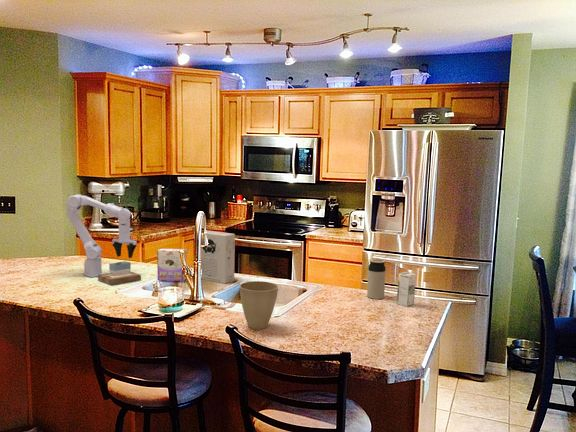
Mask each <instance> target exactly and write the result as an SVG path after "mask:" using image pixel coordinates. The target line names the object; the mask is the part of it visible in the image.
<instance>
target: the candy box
mask: <svg viewBox="0 0 576 432" xmlns="http://www.w3.org/2000/svg"><path fill="white" fill-rule="evenodd" d="M180 251H184V253H185V260H186V261H187V249H186V248H183V249H181V248H160V249H157V251H156V253H157V254H156V255H157V257H156V258H157V260H156V261H157V265H156V266H157V280H159V281H158V282H168V283H169V282H171V283H172V282H173V283H175V282H176V283H184V282H185V281H186V280H185V278H184V276H183V273H182V264H181V259H180V254H179V252H180Z"/></svg>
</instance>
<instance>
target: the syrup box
mask: <svg viewBox="0 0 576 432" xmlns="http://www.w3.org/2000/svg"><path fill="white" fill-rule="evenodd" d="M416 278H417V274H416V273H414V272H410V271H403V272H400V273H398V278H397V280H398V281H397V294H396V295H397V296H396V304H397V305H400V306H402V307H403V306H404V307H410V306H413V305H414V304H415V295H416V282H417V280H416Z"/></svg>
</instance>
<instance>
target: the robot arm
mask: <svg viewBox="0 0 576 432" xmlns="http://www.w3.org/2000/svg"><path fill="white" fill-rule="evenodd" d="M65 204H66V217H67V218H68V219H69V222H70V223H71V225H72V227H73V228H74V230H75V232H76V233H77V235H78V237H79V239H80V240H81V242H82V244H83V249H84V251H85V257H86V259H85V260H84V262H83V273H82V275H83V276H85V277H89V278H96V277H98V275H100V274H104V273H102V269H103V268H102V266H103V265H102V256H101V255H102V253H103V248H102V246H100V245H99V244H98V243H97V242H96V241H95V240H94V238H92V235H91V234H90V231H89V230H88V228H87V227H86V225H85V223H84V222H83V220H82V218H81V217H80V215H79V213H80V209H81V208H82V207H83V206H90V207H94V208H97V209H100V210H103V211H104V214H106V215H109V216H111V217H114V218H116V219H118V238H113V239H112V246H113V248H114V250H115V253H116V257H121V256H122V246H123V244H124V245H126V248H127V254H128V259H131V258H133V255H134V252H135V249H136V248H137V245H138V244H137V242H138V241H137V240H134V239H131V219H130V218H131V213H132V212H131V211H130V210H129V209H128V208H124V207H123V206H119V205H118V206H117V205H115V203H113V202H111V203H109V202H108V203H103V202H101V201H99V200H96V199H95V198H92V197H90V196H88V195H82V194H80V193H77V194H75V195H74V194H73V195H70V196H69V197H68V198H67V201H66V202H65Z"/></svg>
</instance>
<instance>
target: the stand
mask: <svg viewBox="0 0 576 432" xmlns="http://www.w3.org/2000/svg"><path fill="white" fill-rule="evenodd" d="M97 277H98V278H97V280H98V282H101V283H103V284H107V285H109V286H119V285H122V284H124V285H125V284H130V283H135V282H140V281H142V275H141V274H139V273H137V272H133V271H131V274H129V275H123V276H117V277H113V276H110V275H109V272H107V273H103V274H100V275H98V276H97Z"/></svg>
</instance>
